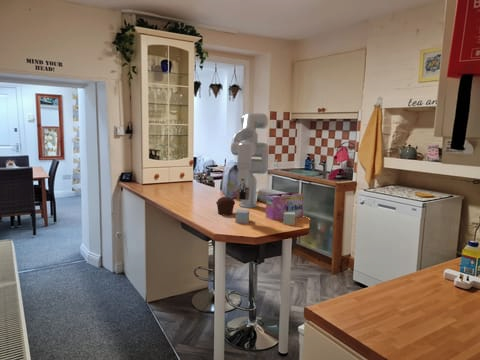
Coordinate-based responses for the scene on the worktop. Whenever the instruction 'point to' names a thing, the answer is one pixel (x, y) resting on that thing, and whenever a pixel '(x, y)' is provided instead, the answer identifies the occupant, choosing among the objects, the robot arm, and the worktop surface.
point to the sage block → (289, 218)
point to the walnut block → (245, 195)
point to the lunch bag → (230, 179)
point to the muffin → (225, 205)
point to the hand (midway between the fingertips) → (243, 197)
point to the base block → (242, 216)
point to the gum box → (284, 205)
